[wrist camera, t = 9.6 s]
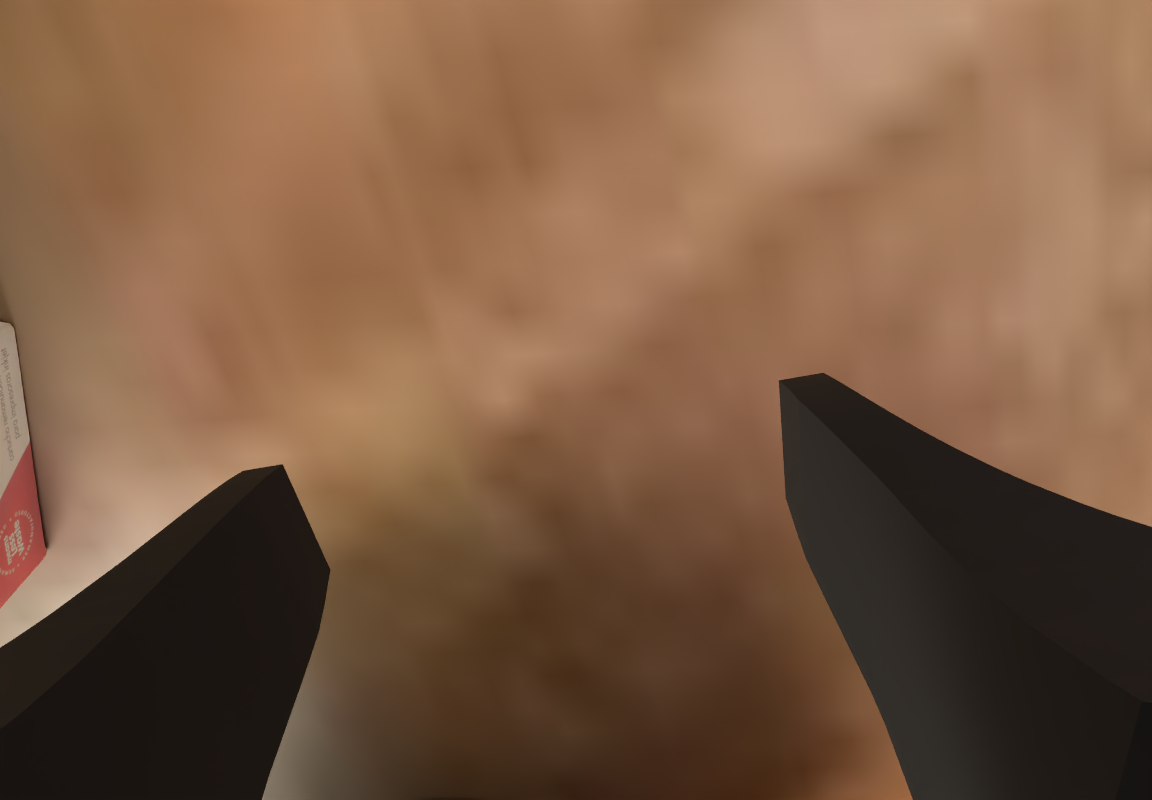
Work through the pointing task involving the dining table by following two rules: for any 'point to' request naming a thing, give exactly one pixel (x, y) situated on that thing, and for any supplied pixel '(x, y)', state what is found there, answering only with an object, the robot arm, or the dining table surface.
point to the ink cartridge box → (16, 477)
